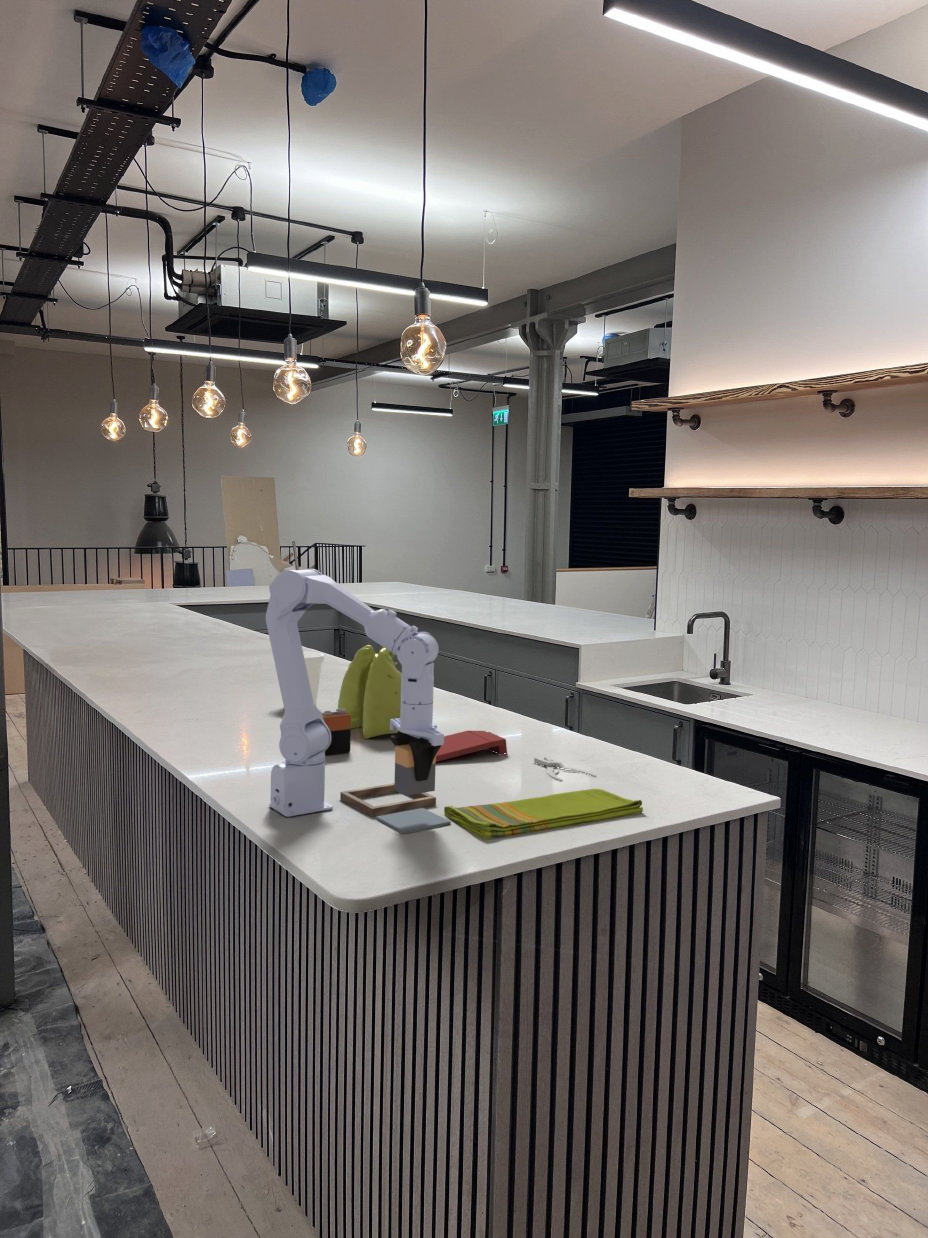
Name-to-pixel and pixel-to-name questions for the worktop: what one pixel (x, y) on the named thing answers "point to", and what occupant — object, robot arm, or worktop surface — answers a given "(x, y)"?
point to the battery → (338, 731)
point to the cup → (313, 671)
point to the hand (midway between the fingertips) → (414, 777)
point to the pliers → (551, 763)
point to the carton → (470, 744)
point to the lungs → (372, 691)
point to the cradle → (419, 802)
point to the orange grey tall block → (410, 773)
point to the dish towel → (542, 813)
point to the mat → (413, 820)
